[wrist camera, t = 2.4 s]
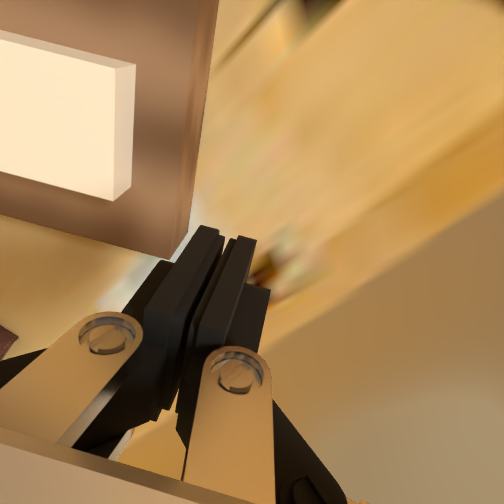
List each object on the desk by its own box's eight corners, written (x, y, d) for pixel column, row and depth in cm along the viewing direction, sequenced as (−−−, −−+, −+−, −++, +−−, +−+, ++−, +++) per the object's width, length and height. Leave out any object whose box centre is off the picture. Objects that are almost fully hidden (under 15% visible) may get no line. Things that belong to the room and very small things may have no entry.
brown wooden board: (-175, -119, 18) (-270, -147, 16) (221, -21, 18) (201, -31, 15) (-95, 156, 26) (-150, 173, 23) (187, 232, 25) (169, 260, 22)
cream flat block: (-53, 16, 17) (-94, 15, 16) (136, 64, 17) (115, 68, 15) (-29, 144, 21) (-61, 154, 19) (131, 186, 20) (113, 201, 19)
